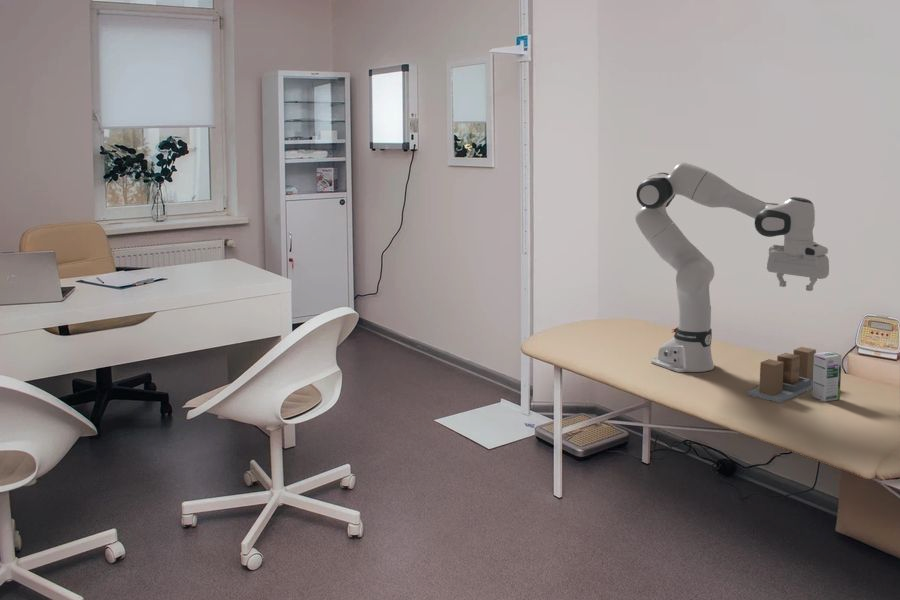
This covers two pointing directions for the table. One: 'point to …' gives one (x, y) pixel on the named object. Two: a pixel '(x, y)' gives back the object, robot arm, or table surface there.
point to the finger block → (790, 367)
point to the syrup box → (827, 376)
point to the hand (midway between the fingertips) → (795, 288)
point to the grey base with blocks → (773, 378)
